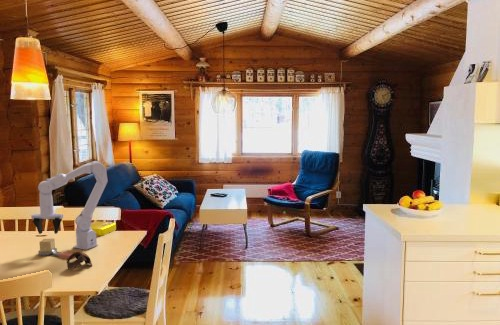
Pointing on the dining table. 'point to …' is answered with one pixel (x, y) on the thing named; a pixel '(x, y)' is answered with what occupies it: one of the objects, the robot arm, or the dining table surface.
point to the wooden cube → (47, 245)
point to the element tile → (103, 227)
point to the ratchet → (56, 254)
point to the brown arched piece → (78, 259)
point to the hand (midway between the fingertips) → (48, 233)
